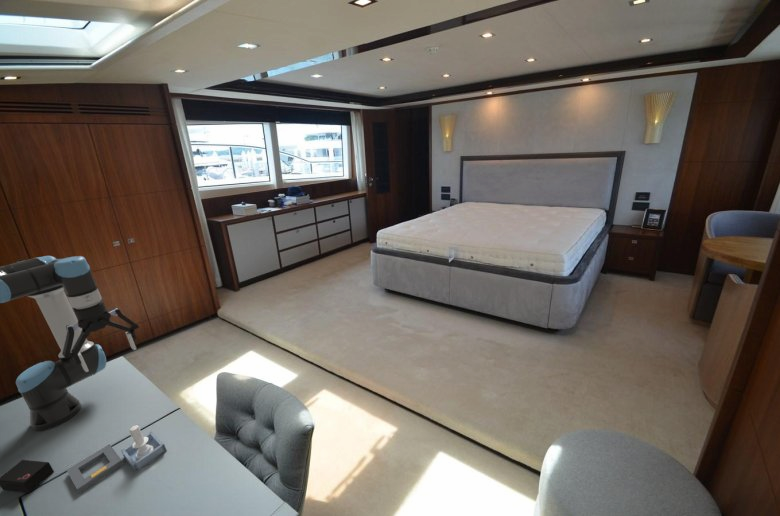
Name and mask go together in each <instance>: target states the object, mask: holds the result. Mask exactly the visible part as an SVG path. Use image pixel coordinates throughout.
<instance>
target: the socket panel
mask: <svg viewBox="0 0 780 516" xmlns="http://www.w3.org/2000/svg"><path fill="white" fill-rule="evenodd" d="M104 458H106V459H107V461H108V463H107V464H105V465H103V466H102V467H100V468H99V469H97V470H96V471H94V472H93V473H91V474H90V475H88V476H86V477H84V475H83V474H82V472H83V471H85V470H87V469H88V468H90V467H91V466H93V465H94V464H96V463H98V462H99V461H101V460H102V459H104ZM123 465H124V462H123V459H121V457H120V455H119V454H118V453H117V452H116V451H115V449H114V448H113V447H112V446H111V444H107V445H106V446H104V447H103V448H101V449H99V450H97V451H95V452H94V453H92V454H91V455H88V456H87V457H86V458H84V459H83V460H80V462H77V463H76V464H73V466H71V467H70V468H68V469H67V470H66V472H67V474H68V476H69V477H70V480H71V481H72V483H73V485H74V487H75V488H76V490H77V492H78V494H81V493H83V492H84V491H85V490H87V489H88V488H90V487H92V486H93V485H94V484H96V483H98V482H99V481H100V480H102V479H104V478H105V477H106V476H108V475H110V474H111V473H113V472H114V471H115V470H118V469H119V468H121V467H122V466H123Z"/></svg>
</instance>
